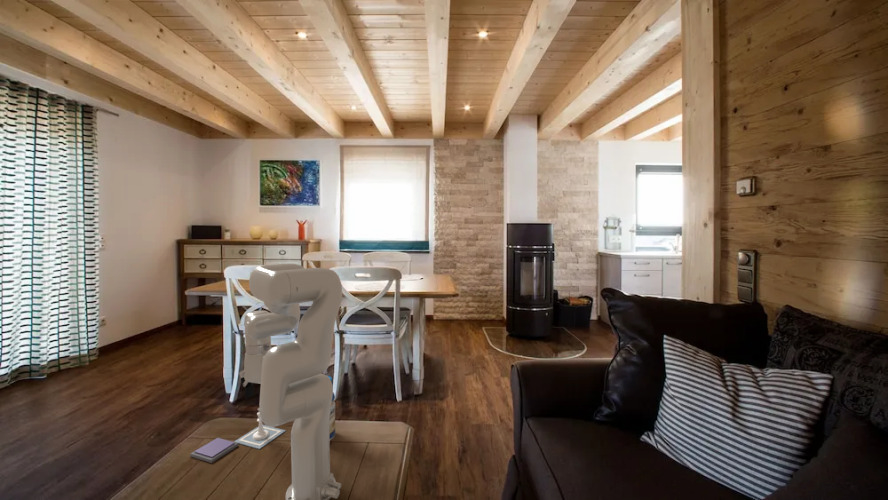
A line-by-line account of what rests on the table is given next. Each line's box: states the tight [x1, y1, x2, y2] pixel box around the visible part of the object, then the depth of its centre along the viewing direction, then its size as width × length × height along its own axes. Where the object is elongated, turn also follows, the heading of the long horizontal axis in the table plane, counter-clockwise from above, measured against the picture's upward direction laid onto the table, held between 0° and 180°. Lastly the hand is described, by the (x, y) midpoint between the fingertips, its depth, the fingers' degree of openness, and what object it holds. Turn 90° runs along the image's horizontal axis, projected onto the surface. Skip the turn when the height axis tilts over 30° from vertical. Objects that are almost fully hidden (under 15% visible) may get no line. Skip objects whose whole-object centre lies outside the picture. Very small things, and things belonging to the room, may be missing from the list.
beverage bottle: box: [327, 375, 336, 441], centre depth 118 cm, size 8×8×20 cm
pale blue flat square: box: [233, 424, 287, 450], centre depth 119 cm, size 11×11×1 cm
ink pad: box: [189, 437, 239, 464], centre depth 111 cm, size 9×9×1 cm
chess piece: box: [253, 407, 269, 440], centre depth 119 cm, size 5×5×10 cm
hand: (260, 398), depth 118 cm, fingers open, 9 cm apart
